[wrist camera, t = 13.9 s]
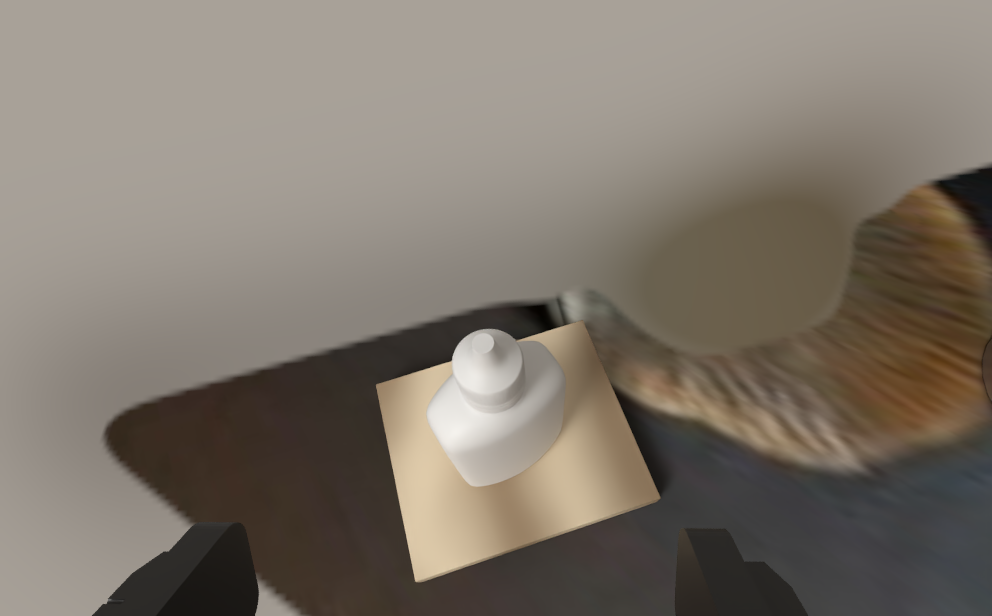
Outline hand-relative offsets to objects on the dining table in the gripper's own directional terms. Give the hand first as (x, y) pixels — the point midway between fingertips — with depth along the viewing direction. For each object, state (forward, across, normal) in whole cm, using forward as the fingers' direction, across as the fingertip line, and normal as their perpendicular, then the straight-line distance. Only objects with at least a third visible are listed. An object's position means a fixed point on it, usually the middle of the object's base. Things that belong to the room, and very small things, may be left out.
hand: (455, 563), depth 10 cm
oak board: (+17, 0, +8) cm, 18 cm away
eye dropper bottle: (+16, 0, +7) cm, 17 cm away
